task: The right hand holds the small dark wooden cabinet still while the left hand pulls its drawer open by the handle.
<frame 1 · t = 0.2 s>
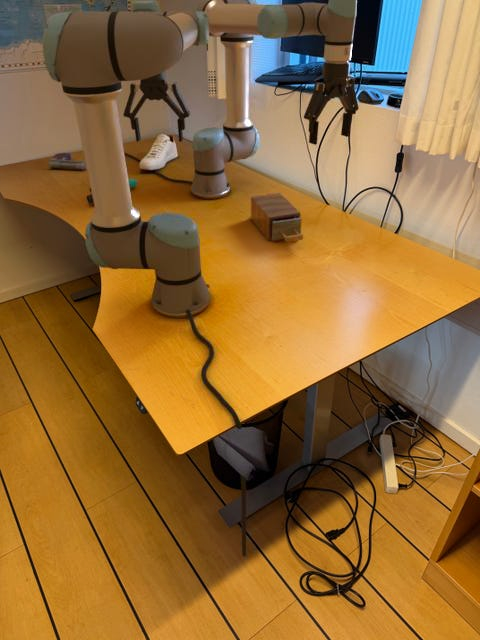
left hand: (159, 140, 150), 28 cm above the table, tool pointing down, fingers open, 13 cm apart
right hand: (329, 139, 146), 29 cm above the table, tool pointing down, fingers open, 13 cm apart
toy gun: (71, 166, 218), on the table
cabinet: (274, 226, 163), on the table
drawer: (281, 223, 155), point 4 cm above the table, slide at 1.2 cm
sneaker: (158, 164, 218), on the table
toy gun 2: (104, 194, 188), on the table
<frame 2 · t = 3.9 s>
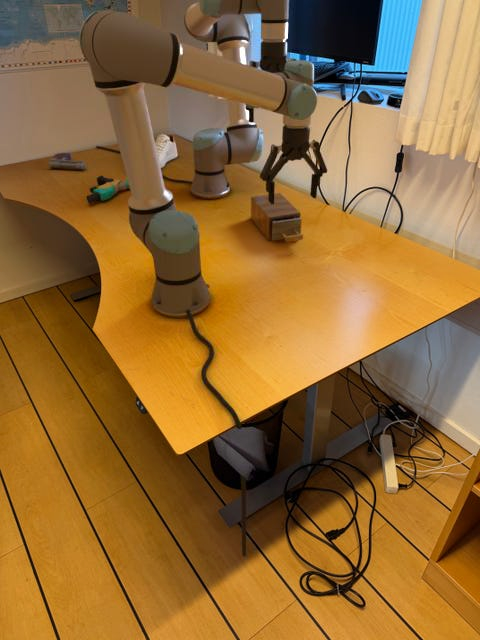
left hand: (292, 199, 142), 15 cm above the table, tool pointing down, fingers open, 13 cm apart
right hand: (272, 120, 146), 34 cm above the table, tool pointing down, fingers open, 13 cm apart
nothing on the table moved.
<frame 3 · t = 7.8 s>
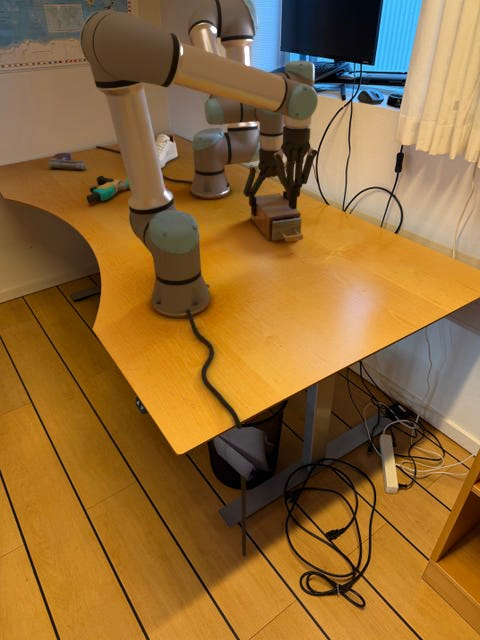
left hand: (292, 207, 144), 13 cm above the table, tool pointing down, fingers closed
right hand: (269, 212, 164), 3 cm above the table, tool pointing down, fingers closed on cabinet, 11 cm apart
cabinet: (274, 226, 163), on the table, touching right hand
everything else where it was.
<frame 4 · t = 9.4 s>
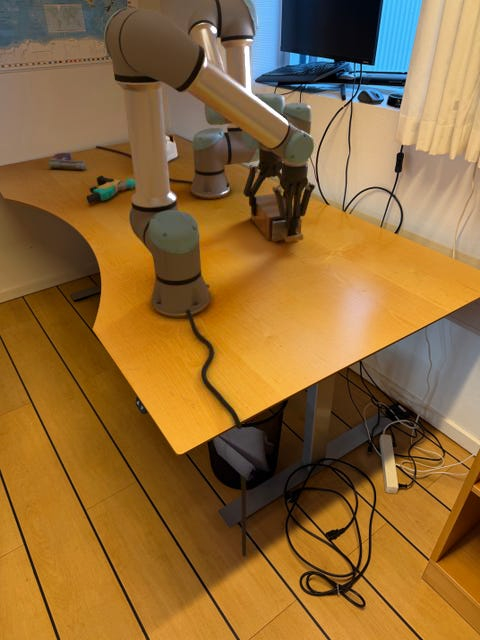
left hand: (291, 237, 150), 3 cm above the table, tool pointing down, fingers closed
right hand: (269, 212, 164), 3 cm above the table, tool pointing down, fingers closed on cabinet, 11 cm apart
cabinet: (274, 226, 163), on the table, touching right hand
everything else where it was.
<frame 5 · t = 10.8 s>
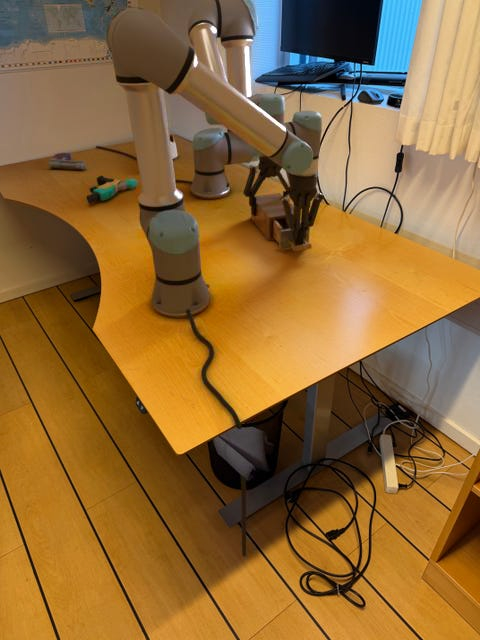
left hand: (298, 248, 145), 2 cm above the table, tool pointing down, fingers closed
right hand: (269, 212, 164), 3 cm above the table, tool pointing down, fingers closed on cabinet, 11 cm apart
cabinet: (274, 226, 162), on the table, touching right hand
drawer: (288, 231, 150), point 4 cm above the table, slide at 7.6 cm, touching left hand
everything else where it was.
when the right hand's fingers open (3 cm above the table, at t = 12.4 s): cabinet stays where it is, on the table.
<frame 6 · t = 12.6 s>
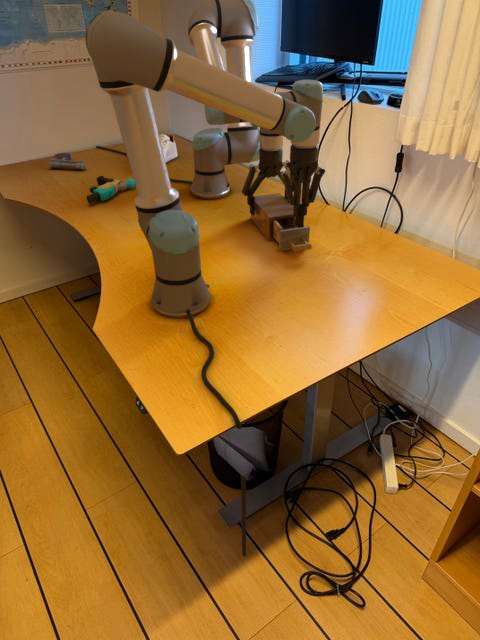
left hand: (299, 225, 141), 9 cm above the table, tool pointing down, fingers closed
right hand: (269, 211, 164), 4 cm above the table, tool pointing down, fingers open, 12 cm apart
cabinet: (274, 226, 162), on the table
drawer: (288, 231, 150), point 4 cm above the table, slide at 7.7 cm
everything else where it was.
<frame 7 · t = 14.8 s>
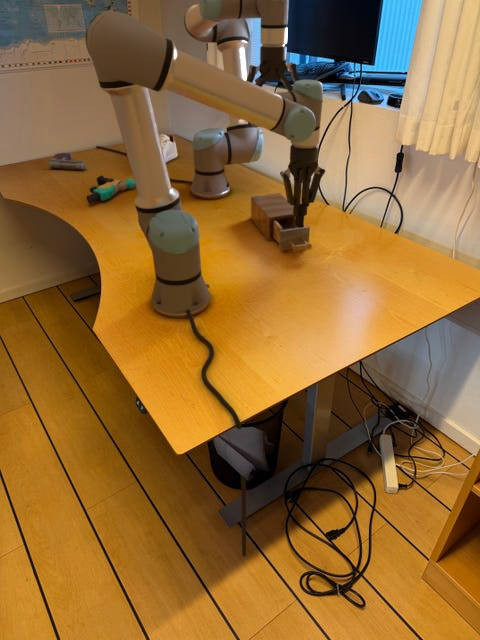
left hand: (299, 225, 141), 9 cm above the table, tool pointing down, fingers closed
right hand: (271, 123, 148), 32 cm above the table, tool pointing down, fingers open, 13 cm apart
nothing on the table moved.
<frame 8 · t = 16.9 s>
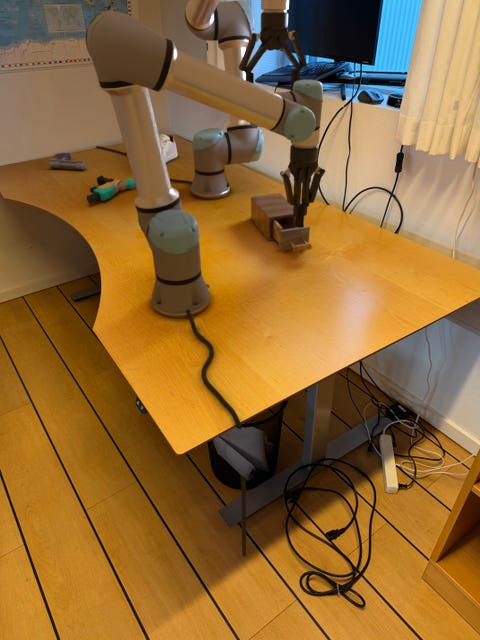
left hand: (299, 225, 141), 9 cm above the table, tool pointing down, fingers closed
right hand: (272, 95, 143), 40 cm above the table, tool pointing down, fingers open, 13 cm apart
nothing on the table moved.
at the end: drawer slide at 7.7 cm; cabinet tilted 0°; cabinet never tilted more than 1° during the clip; cabinet moved 0.0 cm from its start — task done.
